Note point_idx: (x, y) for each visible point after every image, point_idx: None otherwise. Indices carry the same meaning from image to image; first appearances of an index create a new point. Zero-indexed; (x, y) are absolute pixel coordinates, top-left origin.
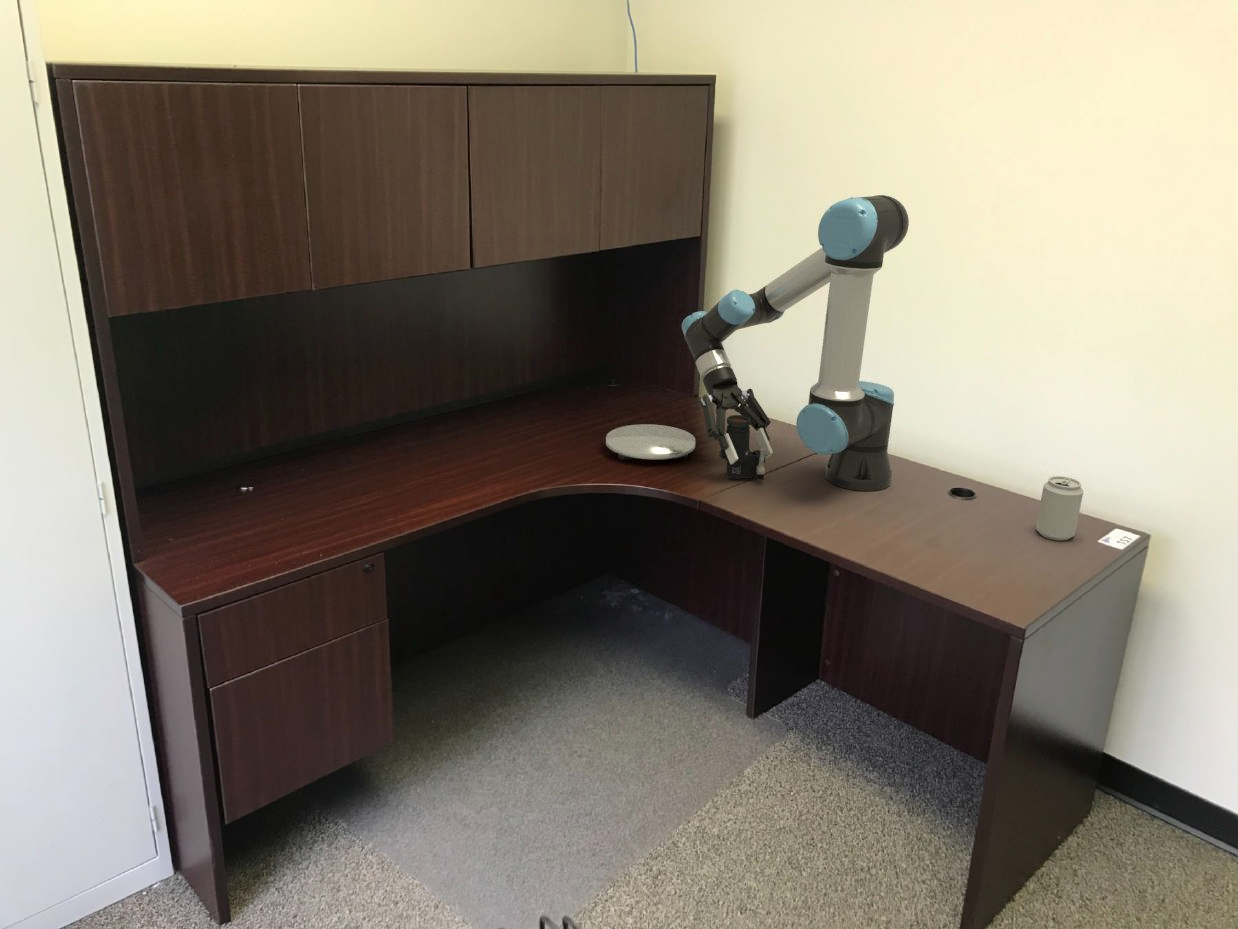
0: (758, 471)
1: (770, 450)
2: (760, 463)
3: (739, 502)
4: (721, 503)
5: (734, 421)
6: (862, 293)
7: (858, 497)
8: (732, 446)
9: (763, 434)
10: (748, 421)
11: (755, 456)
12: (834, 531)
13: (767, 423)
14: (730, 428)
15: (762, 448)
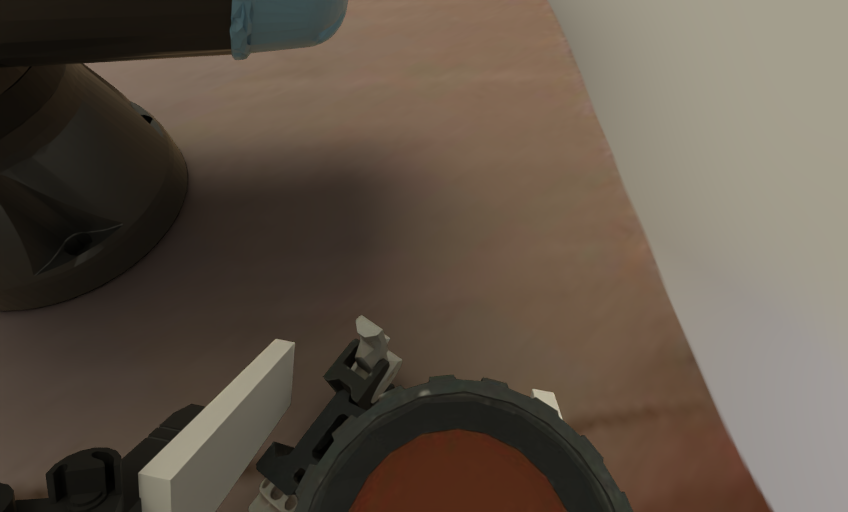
0: (401, 360)
1: (281, 347)
2: (387, 351)
3: (584, 296)
4: (654, 327)
5: (618, 488)
6: None
7: (229, 128)
8: None
9: (210, 425)
10: (434, 379)
11: (361, 408)
12: (476, 58)
13: (11, 497)
14: None
15: (361, 332)
